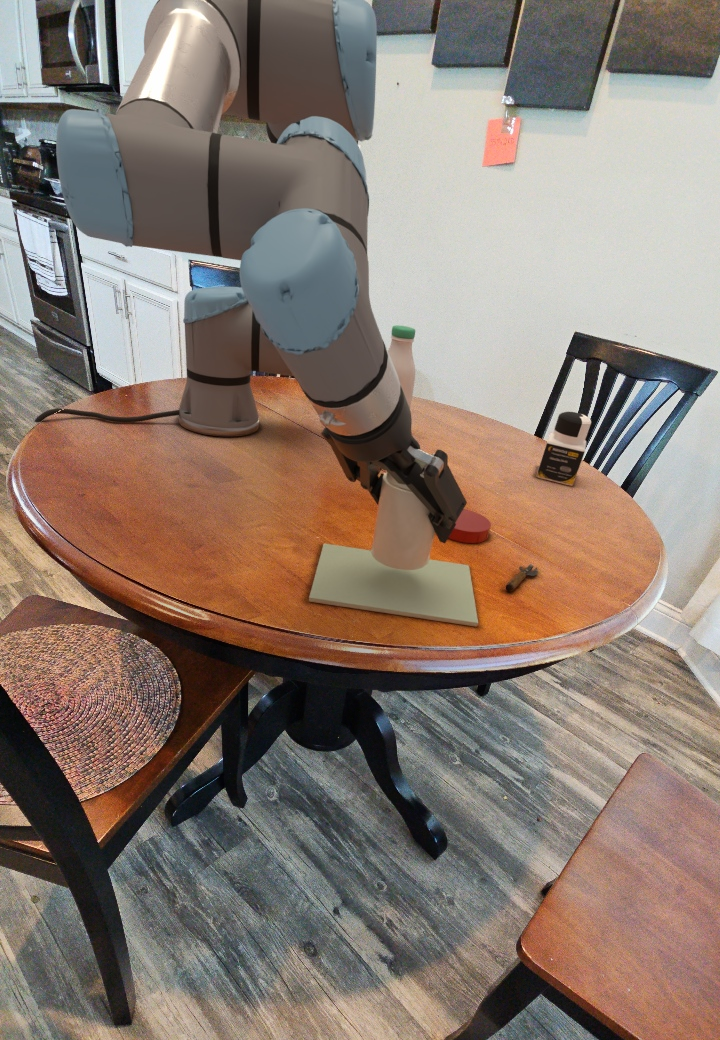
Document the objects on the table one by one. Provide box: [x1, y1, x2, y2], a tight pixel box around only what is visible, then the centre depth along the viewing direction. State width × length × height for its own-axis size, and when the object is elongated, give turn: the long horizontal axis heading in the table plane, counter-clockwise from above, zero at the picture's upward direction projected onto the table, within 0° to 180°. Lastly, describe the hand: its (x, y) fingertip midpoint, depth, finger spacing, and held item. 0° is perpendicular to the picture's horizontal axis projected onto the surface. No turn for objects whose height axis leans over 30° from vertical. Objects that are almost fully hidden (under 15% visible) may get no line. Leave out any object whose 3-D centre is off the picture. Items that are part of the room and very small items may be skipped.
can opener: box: [505, 563, 539, 592], centre depth 79 cm, size 9×2×1 cm, turn 140°
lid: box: [448, 508, 492, 544], centre depth 89 cm, size 8×8×2 cm
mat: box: [308, 543, 479, 627], centre depth 74 cm, size 20×14×1 cm
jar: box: [370, 471, 436, 570], centre depth 68 cm, size 7×7×11 cm
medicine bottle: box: [535, 411, 592, 487], centre depth 112 cm, size 7×7×12 cm
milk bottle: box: [387, 324, 416, 409], centre depth 120 cm, size 8×8×20 cm
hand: (419, 521), depth 72 cm, fingers closed on jar, 7 cm apart
